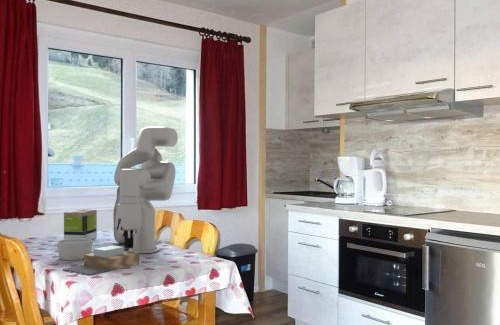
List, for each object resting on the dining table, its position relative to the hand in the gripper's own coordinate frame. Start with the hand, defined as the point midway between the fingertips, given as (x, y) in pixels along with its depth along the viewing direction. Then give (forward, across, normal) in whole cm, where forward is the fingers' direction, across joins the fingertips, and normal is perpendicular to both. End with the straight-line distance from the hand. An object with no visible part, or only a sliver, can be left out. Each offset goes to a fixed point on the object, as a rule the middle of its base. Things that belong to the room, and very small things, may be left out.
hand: (128, 247), depth 177 cm
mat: (+5, +20, 0) cm, 21 cm away
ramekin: (+6, +7, -22) cm, 24 cm away
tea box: (+5, -24, -57) cm, 62 cm away
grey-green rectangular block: (+1, +10, 0) cm, 10 cm away
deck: (+5, +8, 0) cm, 10 cm away
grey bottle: (+5, -29, -32) cm, 43 cm away
